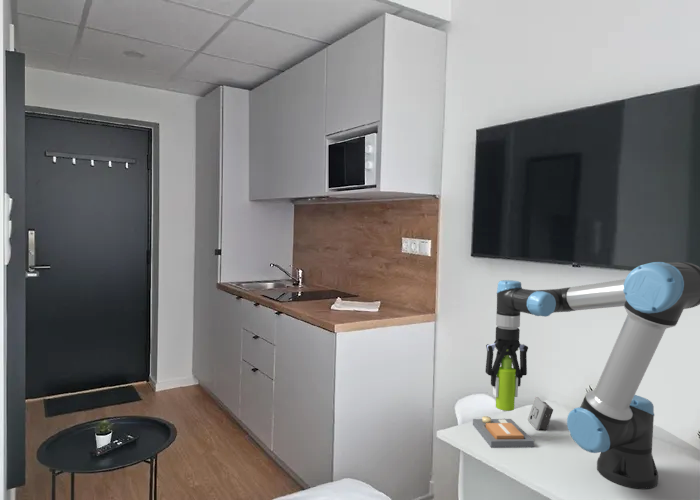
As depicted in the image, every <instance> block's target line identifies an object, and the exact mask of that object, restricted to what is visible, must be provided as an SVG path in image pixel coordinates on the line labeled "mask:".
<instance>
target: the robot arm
mask: <svg viewBox="0 0 700 500" xmlns="http://www.w3.org/2000/svg"><path fill="white" fill-rule="evenodd" d="M699 305H700V266H698V265H696V264H694V263H691V262H683V261H677V262H664V261H653V262H649V263H648V262H647V263H645V264H641V265H638V266H637V267H635V268H633V269H632V270H631V271H630V272H629V273H628V274H627V276H626V277H625V279H624V278H623V279H616V280H611V281H604V282H597V283H591V284H584V285H577V286H569V287H563V288H562V287H561V288H554V289H553V288H552V289H551V288H550V289H536V290H535V289H526V288H522V282H521V281H519V280H509V279H506V280H505V279H504V280H500V281H498V283H497V290H496V315H495V316H496V317H495V318H496V319H495V325H496V327H495V340H494V343H491V344H489V343H487V344H486V345H485V347H486V351H487V352H486V361H485V362H486V363H485V373H486V374H487V375H488V376H490V385H491V387H493V388H492V395H493V396H494V397H495V398H496V397H498V388H499V377H497V374H498V371H499V368H500V367H501V362H502V359H503V358H504V355H510V358H512V368H514V369H515V370H516V375H515V398H518V397H519V393H518V392H519V387H521V383H522V382H521V381H522V378H523V377H524V376H528V375H527V374H528V367H527V365H528V364H527V361H528V360H527V353H528V349H529V347H528V346H527V344H524V343H523V344H522V343H520V331H521V329H520V326H521V313H524V314H528V315H529V314H530V315H534V316H535V317H549V316H550V315H552V314H554V313H569V312H575V311H583V310H584V311H586V310H597V309H606V308H607V309H608V308H618V307H623V308H624V309H625V311H626V313H627V315H626V317H625V319H624V322H623V324H622V327H621V329H620V331H619V334H618V336H617V338H616V340H615V343H614V345H613V347H612V349H611V352H610V353H609V357H608V359H607V361H606V363H605V366H604V368H603V371H602V372H601V375H600V377H599V380H598V382H597V385H595V389H593V390H592V389H591V390H588V391H587V392H586V393H585V395H584V398H583V400H582V402H581V405H580V406H579V407H575V408H573V409H572V410H570V412H569V413H568V415H567V419H566V425H567V430H568V432H570V436H571V438H572V440H573V441H574V442H575V443H576V445H577V446H578V447H580V448H581V449H582V450H584V451H586V452H588V453H591V454H597V453H600V454H599V457H598V458H597V461H596V470H597V472H598V473H599V474H600V475H601V476H602V477H604V478H605V479H606V480H608V481H610V482H613V483H615V484H618V485H621V486H624V487H628V488H633V489H641V490H643V489H646V490H647V489H652V488H654V487H657V485H658V484H659V473H658V469H657V467H656V464H655V460H654V456H653V452H652V451H653V439H654V438H653V437H654V421H655V420H654V418H655V412H654V411H655V410H654V404H653V402H652V401H651V400H649V399H647V398H646V397H642V396H640V395H636V393H637V391H638V389H639V386H640V385H641V383H642V381H643V379H644V376H645V373H646V372H647V369H648V368H649V365H650V364H651V361H652V359H653V357H654V355H655V353H656V350H657V349H658V347H659V344H660V342H661V340H662V338H663V336H664V334H665V333H666V332H665V331H666V330H667V329H669V328H673V327H676V326H677V324H678V322H679V320H680V318H681V316H682V314H683V312H684V310H687V309H691V308H695V307H698V306H699ZM495 348H496V357H495V358H494V351H495ZM507 349H508V351H506V350H507ZM517 350H518V351H519V361H518V355H517V352H518V351H517Z"/></svg>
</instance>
